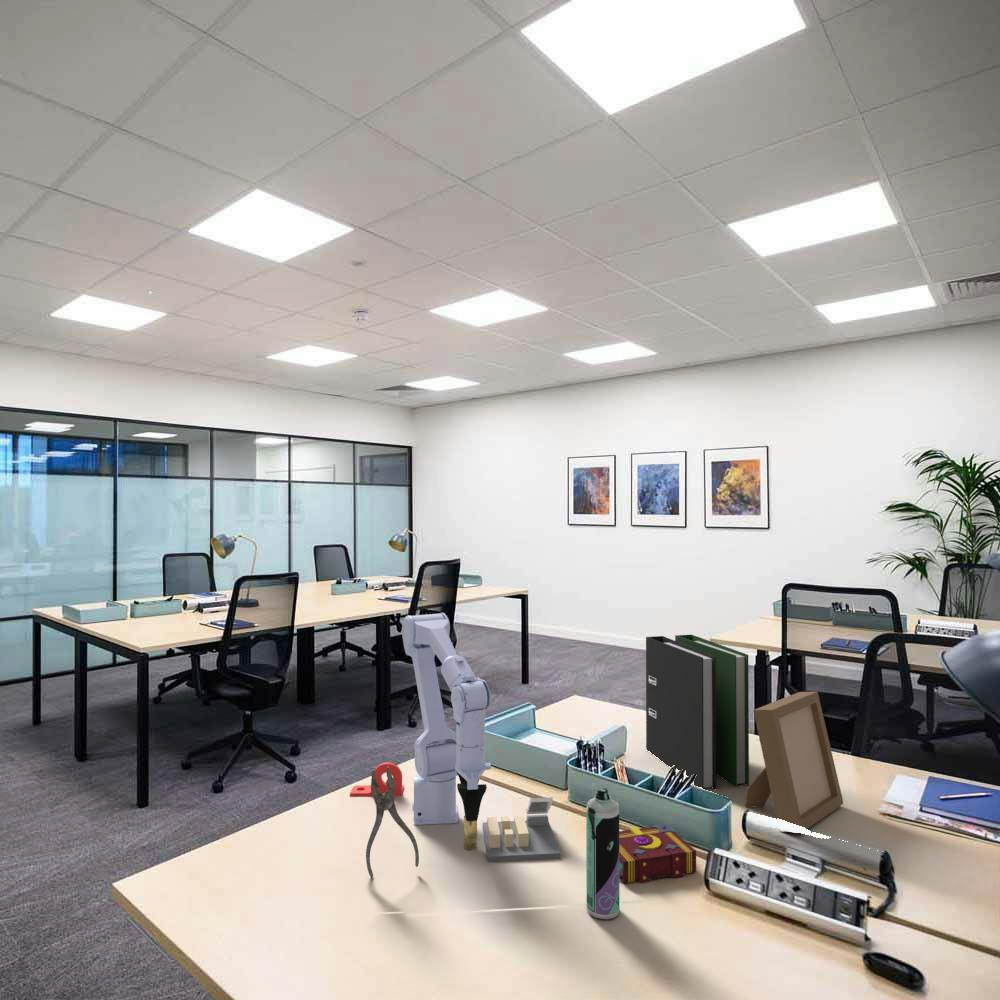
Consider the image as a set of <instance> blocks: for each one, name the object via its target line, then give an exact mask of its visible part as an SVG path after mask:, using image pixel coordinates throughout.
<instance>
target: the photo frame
mask: <svg viewBox="0 0 1000 1000" xmlns="http://www.w3.org/2000/svg"><path fill="white" fill-rule="evenodd" d="M752 710H753V715H754V719H755V724H756V730H757V734H758V737H759V738H758V739H759V742H760V743H759V744H760V748H761V752H762V756H763V762H764V765H765V766H764V768H763V769H762V771H760V773H759V774H758V775H757V776H755V778H754V779H753V780H752V782H750V783H749V786H747V787H746V793H745V800H744V801H745V802H744V807H745V808H755V807H758V808H759V807H765V805H766V803H767V801H768V799H769V797H770V795H771V800H772V803H773V808H774V809H773V810H774V813H775V818H776V819H777V818H779V819H782V820H785V821H787V822H790V823H793V824H796V825H799V826H802V827H805V828H808V829H809V828H811V827H812V826H813V825H815V824H816V823H818V822H819V821H821V820H822V819H823V818H825V817H826V816H828V815H829V814H830V813H832V812H834V811H836V809H838V808H840V807H841V806H842V805H843V804H844V800H843V795H842V790H841V786H840V781H839V778H838V773H837V769H836V765H835V761H834V756H833V750H832V748H831V744H830V739H829V735H828V731H827V727H826V726H827V725H826V722H825V718H824V713H823V709H822V706H821V701H820V696H819V692H818V691H799V692H796V693H793V694H792V695H789V696H786V697H783V698H781V699H778V700H776V701H773V702H770V703H767V704H765V705H762V706H761V707H757V708H755V709H752ZM753 806H755V807H753Z"/></svg>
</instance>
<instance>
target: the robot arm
mask: <svg viewBox="0 0 1000 1000" xmlns="http://www.w3.org/2000/svg"><path fill="white" fill-rule="evenodd" d="M401 626H402V627H401V635H402V637H401V638H402V643H403V648H404V651H405V655H406V656H409V657H411V660H412V664H413V669H414V676H415V681H416V682H415V683H416V687H417V694H418V700H419V705H420V712H421V719H422V724H423V730H424V731H423V732H422V734H421V735H420V736H419V737H418V738H417V739H416V740H415V743H414V746H413V748H414V767H415V770H416V772H417V775H414V778H413V802H412V810H411V811H412V812H413V825H414V826H417V825H420V826H423V825H440V824H441V825H444V824H458V823H459V813H458V812H459V811H458V805H457V792H458V794H459V796H460V798H461V800H462V805H463V811H464V816H465V817H466V821H477V822H478V819H479V815H480V808H481V804H482V800H483V798H484V795H485V794H486V791H487V788H488V787H487V784H484V783H483V784H480V783H479V781H480V778H481V777H482V775H483V774H484V772H485V771H489V770H491V769H492V768H491V767H492V765H491V763H490V762H486V710H488V708H489V707H490V705H491V691H490V688H489V686H488V683H487V681H486V680H485V679H481V678H480V677H477V676H476V675H475V674H474V672H473V670H472V669H471V666H470V665H469V663H468V662H467V660H466V658H465V657H464V656H462V655H458V654H457V651H456V649H455V647H454V644H453V642H452V639H451V638H450V634H451V633H450V631H451V624H450V619H449V617H448V615H446V613H444V612H440V613H432V614H431V613H429V614H419V615H406V616H405V617H404V619H403V620H402V625H401ZM435 657H437V658H438V660H439V661H440V663H441V667H440V673H441V675H442V677H443V679H444V682H446V684H447V686H448V688H449V691H450V692H451V694H450V701H451V705H452V710H453V719H454V721H456V722H455V723H456V724H455V725H456V727H455V728H456V729H455V731H454V730H453V729H451V728H449V727H447V722H446V717H445V712H444V705H443V700H442V695H441V690H440V683H439V679H438V673H437V666H436V662H435ZM439 743H440V744H439ZM457 777H458V779H459V782H460V783H457Z"/></svg>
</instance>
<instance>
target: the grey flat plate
mask: <svg viewBox="0 0 1000 1000" xmlns="http://www.w3.org/2000/svg"><path fill="white" fill-rule="evenodd" d="M553 802H554V800H553V797H550V796H549V797H532V798H530V799H529V803H528V805H527V808H526V815H547V814H548V813H549V811H550V810H551V806H552V804H553Z"/></svg>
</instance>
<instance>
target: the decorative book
mask: <svg viewBox="0 0 1000 1000" xmlns="http://www.w3.org/2000/svg"><path fill="white" fill-rule="evenodd" d="M696 872H697V850H696V849H695V848H694V847H692V846H691V845H690V844H689V843H688V842H687V841H686V840H685V839H683V838H682V837H681V836H680V835H679V834H678V833H677V831H676V830H675V829H674V828H673V827H672V826H670V825H669V823H661V824H654V825H649V826H648V827H642V828H641V827H640V828H638V826H630V827H628V829H627V830H619V880H620V881H621V882H622V883H623V884H629V883H634V882H635V883H636V882H638V883H639V884H643V883H649V882H651V880H654V879H655V880H656V879H660V878H667V877H671V878H672V879H675V878H682V877H683V875H686V874H691V873H696Z"/></svg>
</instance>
